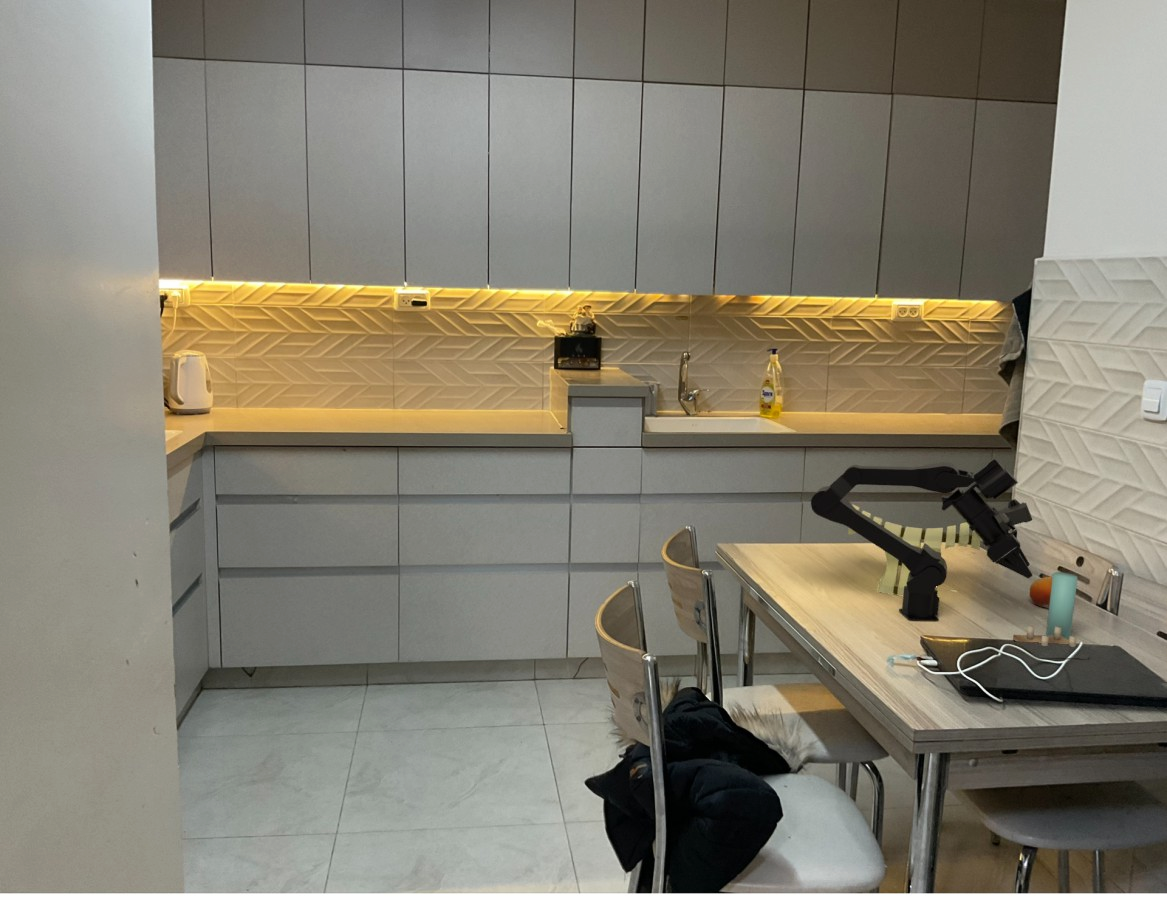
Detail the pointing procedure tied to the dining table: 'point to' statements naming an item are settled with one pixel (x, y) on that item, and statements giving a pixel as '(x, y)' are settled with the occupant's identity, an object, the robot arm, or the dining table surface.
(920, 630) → the dining table surface
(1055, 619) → the post
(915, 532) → the slatted curved stool
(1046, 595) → the fruit
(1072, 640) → the base
